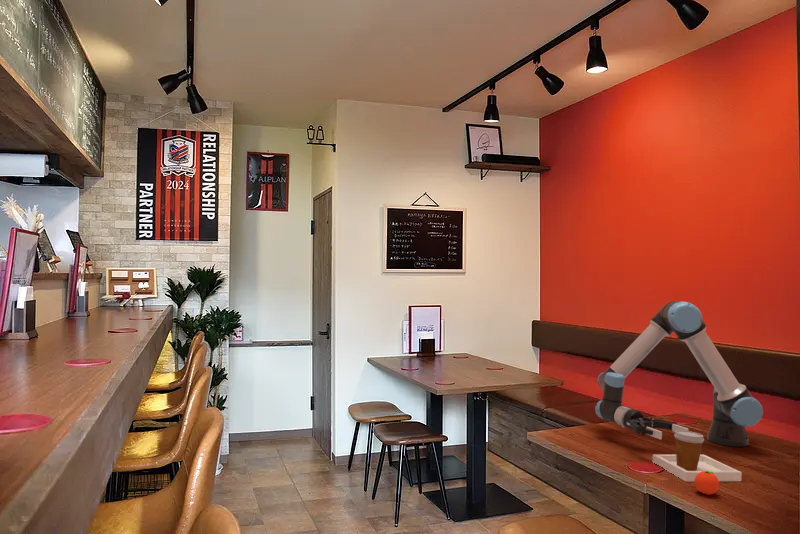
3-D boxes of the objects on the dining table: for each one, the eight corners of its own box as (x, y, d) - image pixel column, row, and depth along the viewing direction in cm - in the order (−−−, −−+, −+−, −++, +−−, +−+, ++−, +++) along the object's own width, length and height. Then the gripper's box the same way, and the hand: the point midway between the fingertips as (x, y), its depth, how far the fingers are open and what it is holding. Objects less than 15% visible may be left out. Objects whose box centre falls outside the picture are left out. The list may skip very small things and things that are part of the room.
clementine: (701, 488, 199) (702, 465, 199) (724, 494, 194) (725, 471, 194) (690, 492, 194) (691, 469, 194) (713, 499, 188) (714, 476, 189)
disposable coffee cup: (703, 474, 210) (706, 438, 210) (673, 469, 213) (675, 434, 213) (699, 467, 219) (702, 432, 219) (670, 462, 222) (673, 428, 222)
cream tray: (703, 462, 227) (703, 454, 227) (741, 481, 207) (741, 472, 207) (652, 462, 224) (652, 454, 224) (685, 481, 205) (686, 472, 205)
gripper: (651, 425, 251) (697, 441, 232) (604, 430, 240) (649, 447, 220) (652, 406, 250) (698, 421, 231) (606, 411, 239) (650, 426, 220)
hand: (674, 434), depth 226 cm, fingers open, 13 cm apart
